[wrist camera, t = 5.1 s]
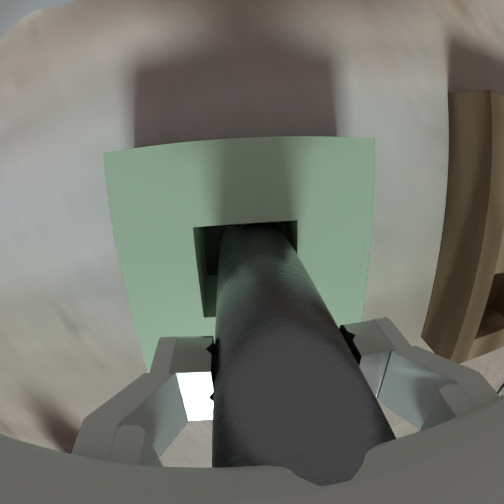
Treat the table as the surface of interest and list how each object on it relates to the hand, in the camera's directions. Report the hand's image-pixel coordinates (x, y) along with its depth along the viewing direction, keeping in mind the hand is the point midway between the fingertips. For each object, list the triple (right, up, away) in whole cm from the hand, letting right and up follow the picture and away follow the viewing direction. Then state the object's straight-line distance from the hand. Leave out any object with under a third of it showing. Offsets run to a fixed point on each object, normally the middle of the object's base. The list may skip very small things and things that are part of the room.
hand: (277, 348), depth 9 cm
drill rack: (+19, +5, +12) cm, 23 cm away
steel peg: (-1, +3, +8) cm, 9 cm away
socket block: (-1, +4, +10) cm, 11 cm away
